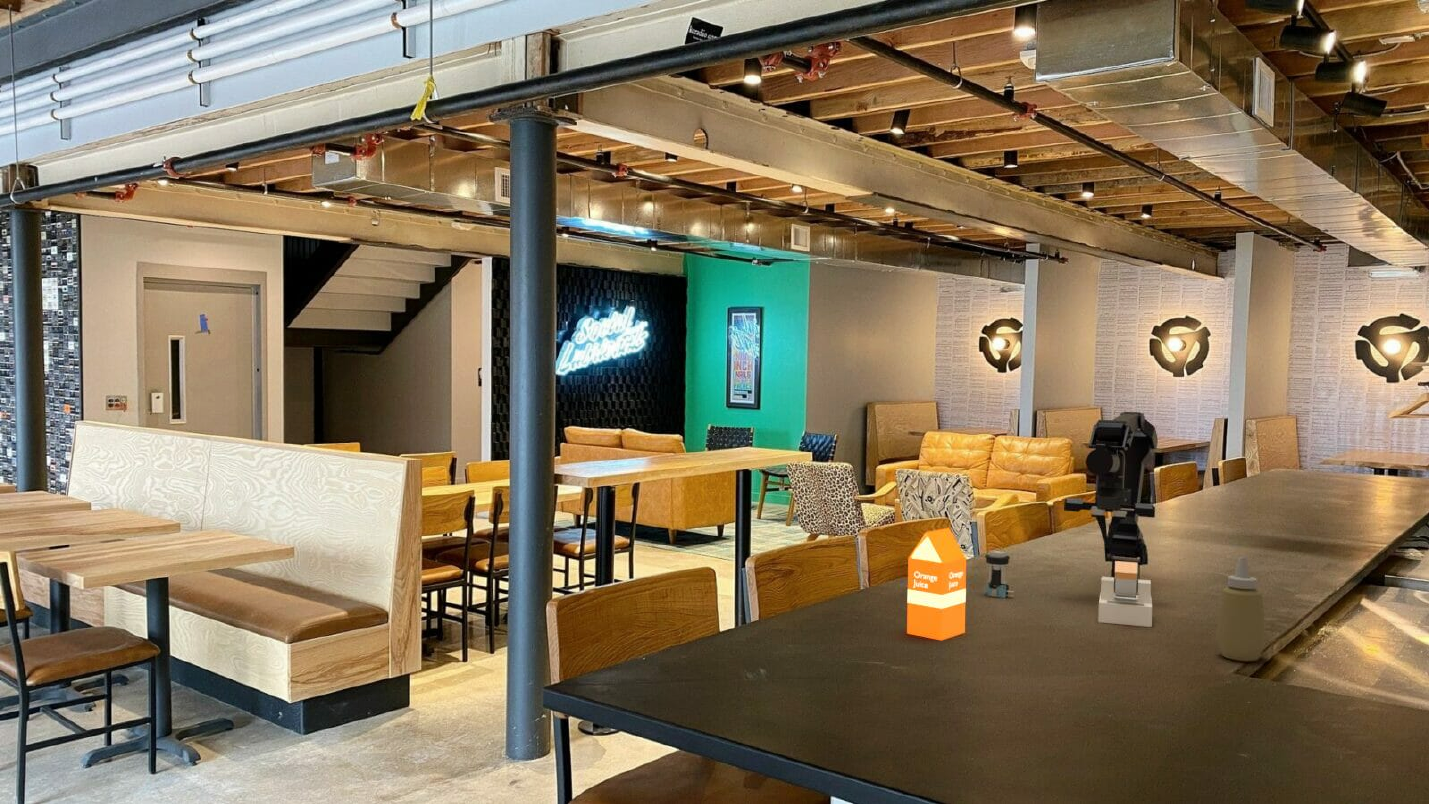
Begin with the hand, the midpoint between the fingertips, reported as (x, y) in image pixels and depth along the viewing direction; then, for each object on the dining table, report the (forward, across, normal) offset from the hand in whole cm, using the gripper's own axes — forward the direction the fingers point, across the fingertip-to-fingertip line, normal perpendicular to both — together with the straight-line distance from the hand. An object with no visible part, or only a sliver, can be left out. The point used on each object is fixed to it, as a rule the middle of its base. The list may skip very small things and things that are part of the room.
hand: (1107, 546), depth 233 cm
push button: (+13, -22, -3) cm, 26 cm away
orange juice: (+17, -30, -43) cm, 55 cm away
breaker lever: (+8, +4, -16) cm, 18 cm away
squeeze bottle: (+15, +23, -39) cm, 48 cm away
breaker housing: (+14, +4, -15) cm, 21 cm away
